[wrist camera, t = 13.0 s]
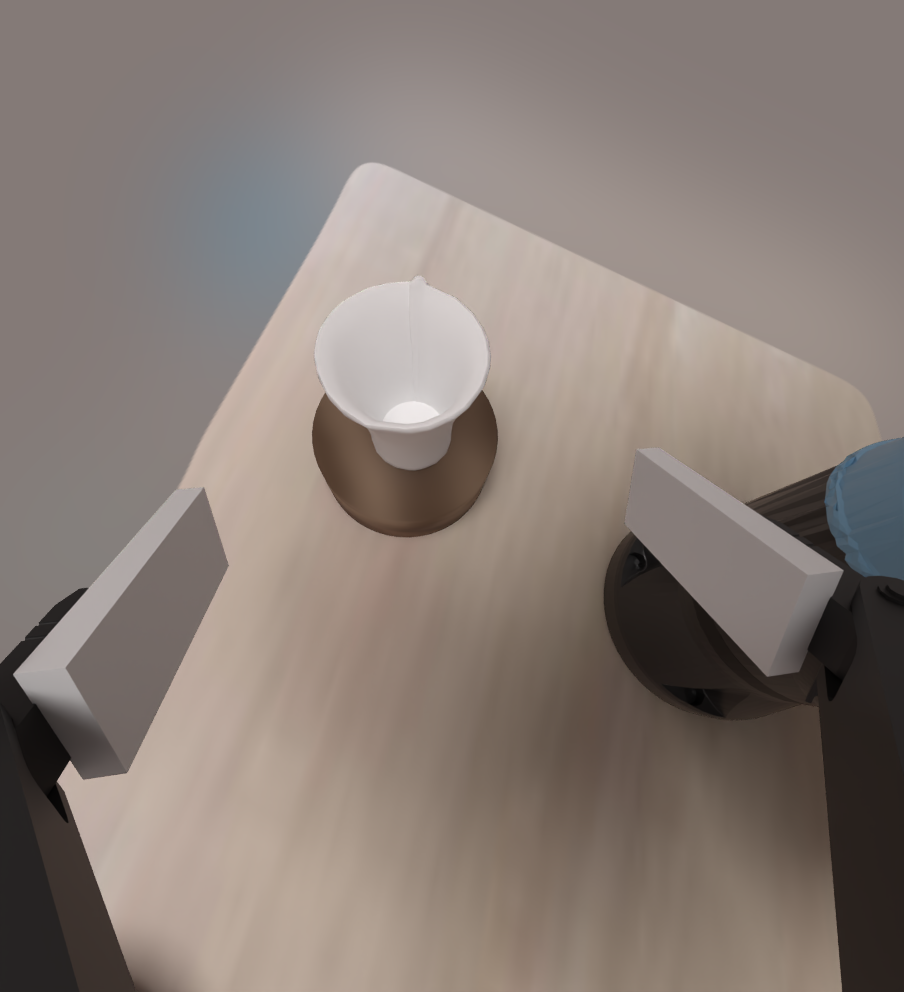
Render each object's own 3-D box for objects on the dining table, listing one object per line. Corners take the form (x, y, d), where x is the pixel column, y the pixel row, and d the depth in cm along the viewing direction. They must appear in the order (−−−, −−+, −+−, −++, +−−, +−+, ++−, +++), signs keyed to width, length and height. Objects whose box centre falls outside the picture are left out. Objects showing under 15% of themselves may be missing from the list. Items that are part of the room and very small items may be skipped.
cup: (481, 390, 34) (507, 291, 24) (454, 508, 31) (472, 448, 21) (363, 362, 34) (343, 253, 24) (326, 478, 31) (286, 405, 21)
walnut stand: (458, 372, 40) (464, 336, 35) (509, 510, 36) (523, 490, 32) (309, 408, 38) (294, 374, 33) (347, 558, 34) (337, 544, 30)
